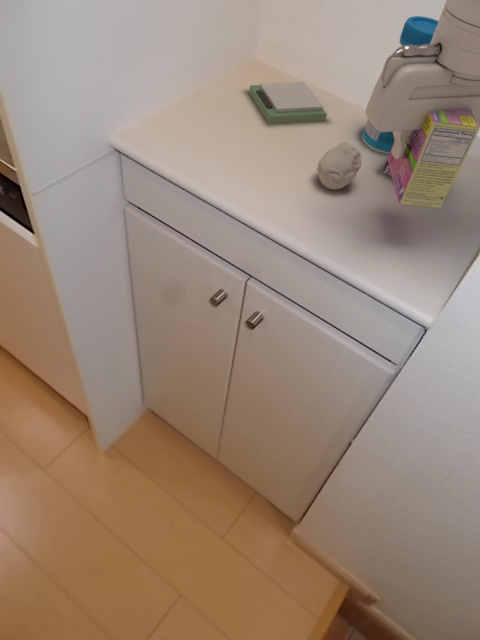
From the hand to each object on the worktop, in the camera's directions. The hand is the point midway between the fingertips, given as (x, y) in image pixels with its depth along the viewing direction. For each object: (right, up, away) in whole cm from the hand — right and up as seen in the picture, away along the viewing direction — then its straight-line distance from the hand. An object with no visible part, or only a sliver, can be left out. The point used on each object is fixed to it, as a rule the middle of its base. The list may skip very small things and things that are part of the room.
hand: (425, 153), depth 68 cm
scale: (-16, +18, +29) cm, 37 cm away
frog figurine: (-9, 0, +15) cm, 18 cm away
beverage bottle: (+2, +10, +26) cm, 28 cm away
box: (-1, -3, +4) cm, 5 cm away
